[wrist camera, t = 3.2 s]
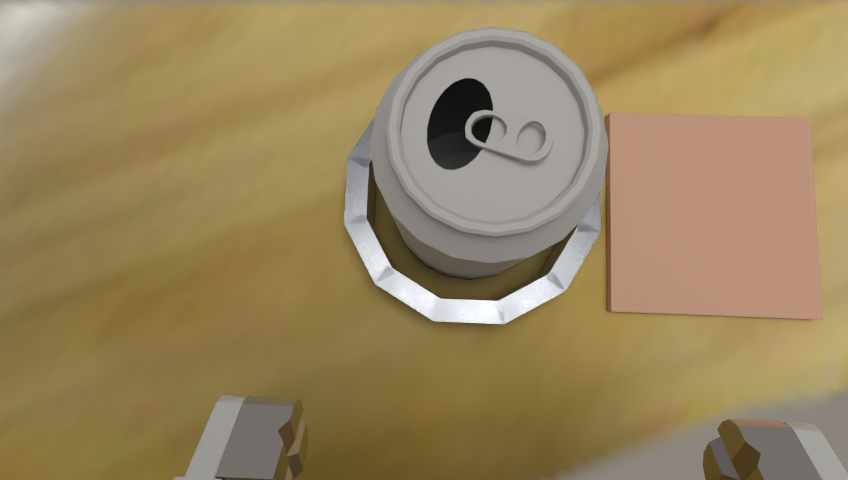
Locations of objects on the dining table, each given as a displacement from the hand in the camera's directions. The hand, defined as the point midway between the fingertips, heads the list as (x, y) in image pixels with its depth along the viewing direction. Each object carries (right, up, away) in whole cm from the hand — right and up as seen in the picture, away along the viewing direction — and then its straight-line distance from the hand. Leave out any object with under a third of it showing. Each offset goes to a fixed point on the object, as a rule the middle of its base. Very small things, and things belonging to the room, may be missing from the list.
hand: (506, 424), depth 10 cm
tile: (+13, +5, +16) cm, 21 cm away
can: (+1, +5, +17) cm, 17 cm away
